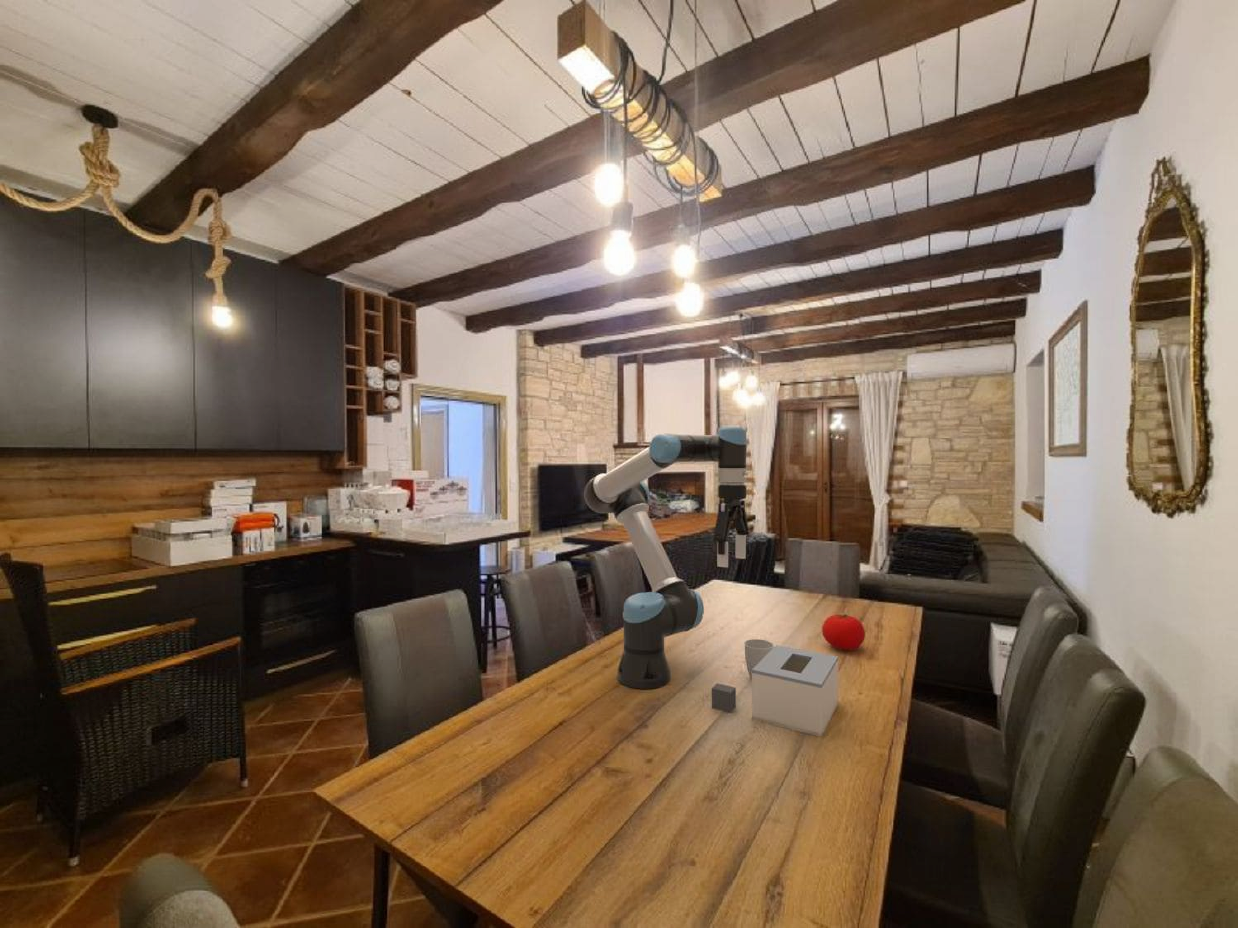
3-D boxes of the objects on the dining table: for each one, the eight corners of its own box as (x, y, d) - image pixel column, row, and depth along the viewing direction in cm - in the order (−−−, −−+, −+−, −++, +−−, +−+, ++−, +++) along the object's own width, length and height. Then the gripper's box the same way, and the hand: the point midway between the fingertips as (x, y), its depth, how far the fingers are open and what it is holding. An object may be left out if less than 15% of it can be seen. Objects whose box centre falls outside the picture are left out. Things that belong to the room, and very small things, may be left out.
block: (711, 707, 137) (711, 688, 137) (716, 702, 140) (717, 683, 140) (730, 712, 134) (730, 692, 134) (735, 707, 137) (735, 687, 137)
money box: (752, 718, 131) (752, 669, 131) (775, 688, 148) (776, 644, 148) (821, 737, 122) (821, 684, 122) (838, 702, 139) (838, 656, 139)
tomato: (873, 651, 176) (873, 617, 176) (841, 656, 171) (841, 622, 171) (845, 639, 187) (845, 608, 187) (815, 644, 182) (815, 612, 182)
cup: (774, 685, 150) (774, 649, 150) (744, 683, 151) (744, 647, 151) (772, 674, 158) (772, 640, 157) (743, 671, 159) (743, 638, 159)
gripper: (728, 486, 134) (728, 572, 134) (760, 482, 155) (759, 556, 155) (700, 485, 138) (700, 568, 138) (735, 481, 159) (734, 553, 159)
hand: (731, 562), depth 147 cm, fingers open, 13 cm apart
